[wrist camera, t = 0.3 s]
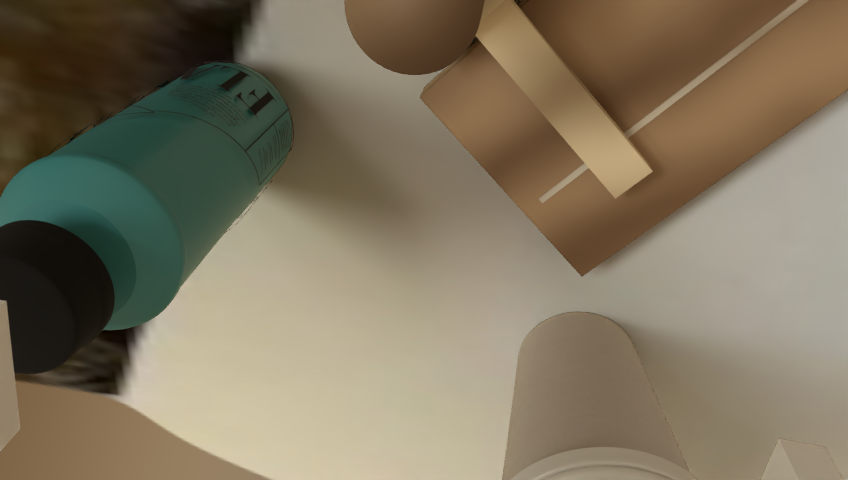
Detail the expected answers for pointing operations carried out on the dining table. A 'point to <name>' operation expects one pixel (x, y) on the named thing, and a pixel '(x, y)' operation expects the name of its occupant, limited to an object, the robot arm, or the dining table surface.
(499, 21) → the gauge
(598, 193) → the board
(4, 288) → the beverage bottle
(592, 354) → the coffee cup
